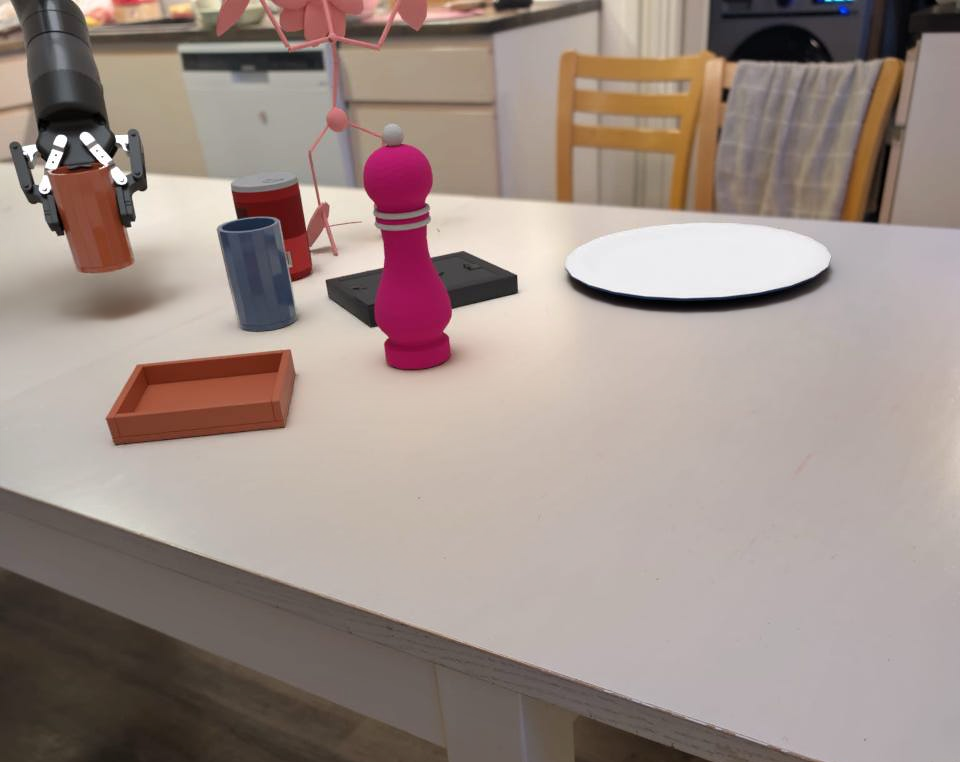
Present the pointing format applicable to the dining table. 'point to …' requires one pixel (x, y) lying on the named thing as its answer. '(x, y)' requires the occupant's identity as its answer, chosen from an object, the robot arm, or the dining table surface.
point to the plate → (698, 261)
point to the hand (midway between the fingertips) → (93, 227)
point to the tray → (203, 397)
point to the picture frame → (457, 271)
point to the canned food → (277, 212)
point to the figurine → (318, 10)
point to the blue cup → (258, 273)
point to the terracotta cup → (91, 218)
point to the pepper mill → (406, 256)
